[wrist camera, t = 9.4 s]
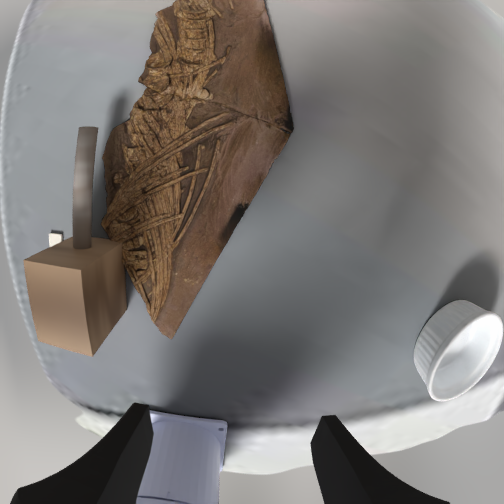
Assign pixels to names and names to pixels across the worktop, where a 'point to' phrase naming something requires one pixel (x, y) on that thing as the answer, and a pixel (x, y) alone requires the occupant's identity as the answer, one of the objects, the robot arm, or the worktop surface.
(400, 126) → the worktop surface
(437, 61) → the worktop surface
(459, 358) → the ramekin
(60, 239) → the strip
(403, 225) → the worktop surface
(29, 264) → the mallet
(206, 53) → the wooden fragment
